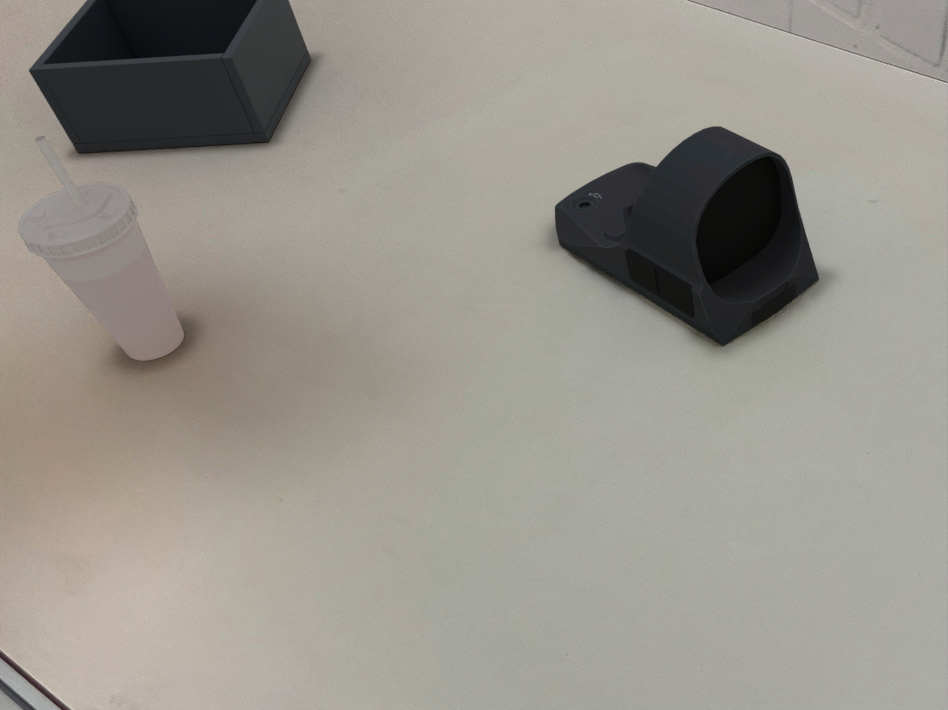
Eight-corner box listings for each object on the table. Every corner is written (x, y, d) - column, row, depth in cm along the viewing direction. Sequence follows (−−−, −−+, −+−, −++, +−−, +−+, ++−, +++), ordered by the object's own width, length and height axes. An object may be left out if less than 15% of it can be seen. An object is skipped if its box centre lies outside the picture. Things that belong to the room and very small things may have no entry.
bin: (77, 153, 86) (27, 70, 80) (137, 69, 94) (95, -12, 89) (268, 142, 85) (231, 57, 80) (311, 58, 93) (280, -24, 88)
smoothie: (223, 337, 70) (111, 136, 59) (132, 389, 67) (-4, 189, 56) (175, 298, 73) (60, 100, 62) (86, 346, 70) (-51, 148, 59)
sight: (639, 180, 78) (618, 43, 71) (822, 280, 70) (821, 137, 62) (540, 238, 75) (506, 100, 67) (721, 351, 66) (706, 208, 58)
